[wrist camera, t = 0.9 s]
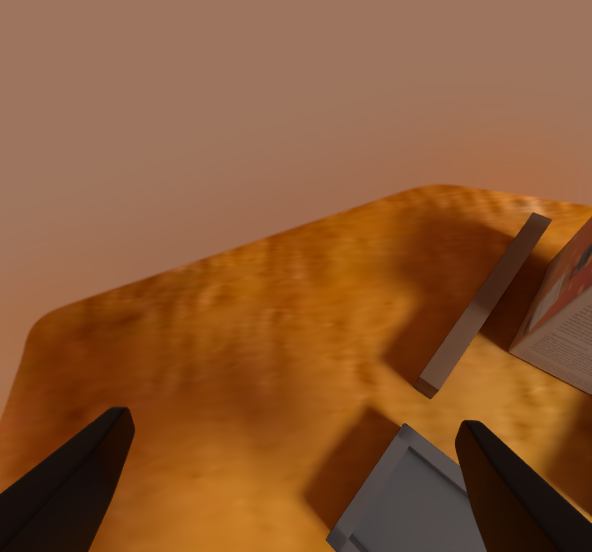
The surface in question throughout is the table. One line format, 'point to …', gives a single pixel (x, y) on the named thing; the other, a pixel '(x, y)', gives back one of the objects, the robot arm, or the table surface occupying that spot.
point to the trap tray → (409, 504)
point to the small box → (562, 316)
